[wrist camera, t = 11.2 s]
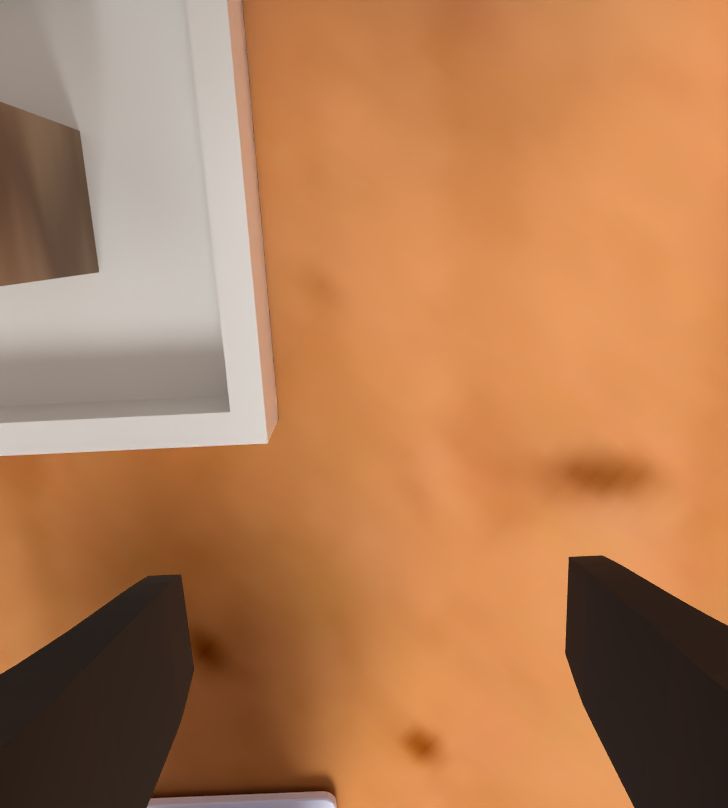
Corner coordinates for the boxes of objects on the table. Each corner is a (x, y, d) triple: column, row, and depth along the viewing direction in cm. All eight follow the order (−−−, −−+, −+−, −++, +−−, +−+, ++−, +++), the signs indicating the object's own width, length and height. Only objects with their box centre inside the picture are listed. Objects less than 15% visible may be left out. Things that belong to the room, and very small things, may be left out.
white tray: (278, 419, 21) (267, 443, 19) (-141, 439, 21) (-205, 465, 19) (236, -69, 17) (215, -118, 15) (-268, -42, 18) (-367, -85, 15)
